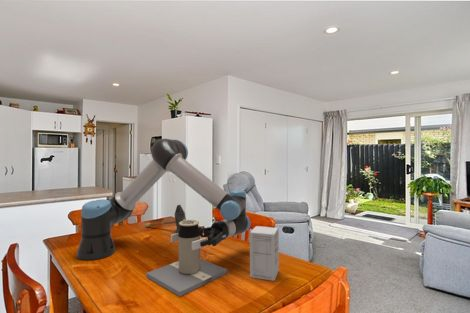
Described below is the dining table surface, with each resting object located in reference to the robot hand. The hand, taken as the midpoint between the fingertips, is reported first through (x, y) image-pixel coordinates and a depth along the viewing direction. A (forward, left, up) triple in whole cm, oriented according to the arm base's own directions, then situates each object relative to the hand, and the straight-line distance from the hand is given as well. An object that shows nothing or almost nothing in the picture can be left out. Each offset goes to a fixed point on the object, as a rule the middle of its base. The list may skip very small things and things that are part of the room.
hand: (181, 242), depth 95 cm
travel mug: (0, +4, -12) cm, 12 cm away
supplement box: (+21, +23, -13) cm, 34 cm away
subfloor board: (0, +3, -13) cm, 13 cm away
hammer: (-55, +31, -14) cm, 65 cm away
